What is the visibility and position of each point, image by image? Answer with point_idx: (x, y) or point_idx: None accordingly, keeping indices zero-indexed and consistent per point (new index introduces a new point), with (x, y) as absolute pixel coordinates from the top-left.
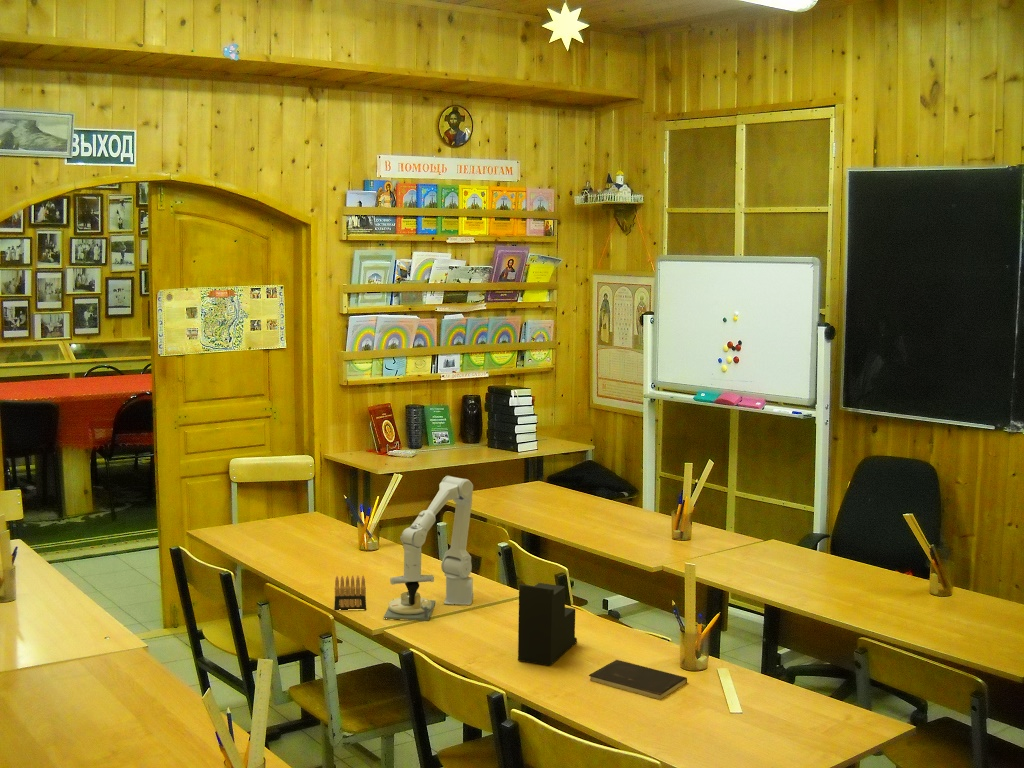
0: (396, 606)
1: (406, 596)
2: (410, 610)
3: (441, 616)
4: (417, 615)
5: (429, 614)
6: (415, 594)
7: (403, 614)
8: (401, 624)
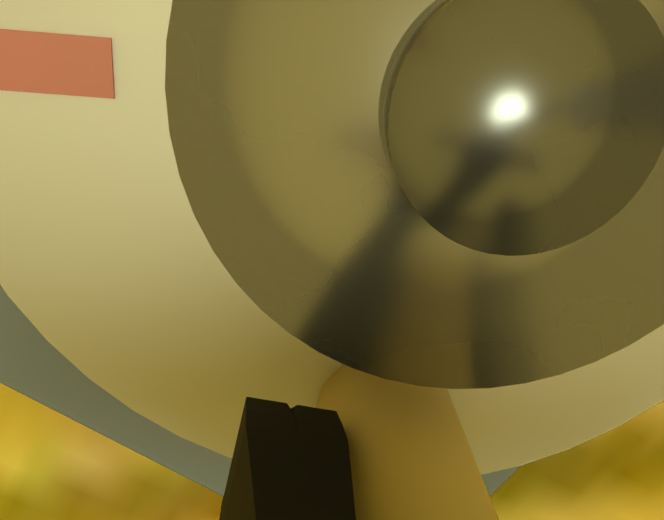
0: (39, 140)
1: (279, 240)
2: (223, 447)
3: (624, 486)
4: None
5: (488, 487)
6: (636, 194)
7: None
8: (23, 514)
